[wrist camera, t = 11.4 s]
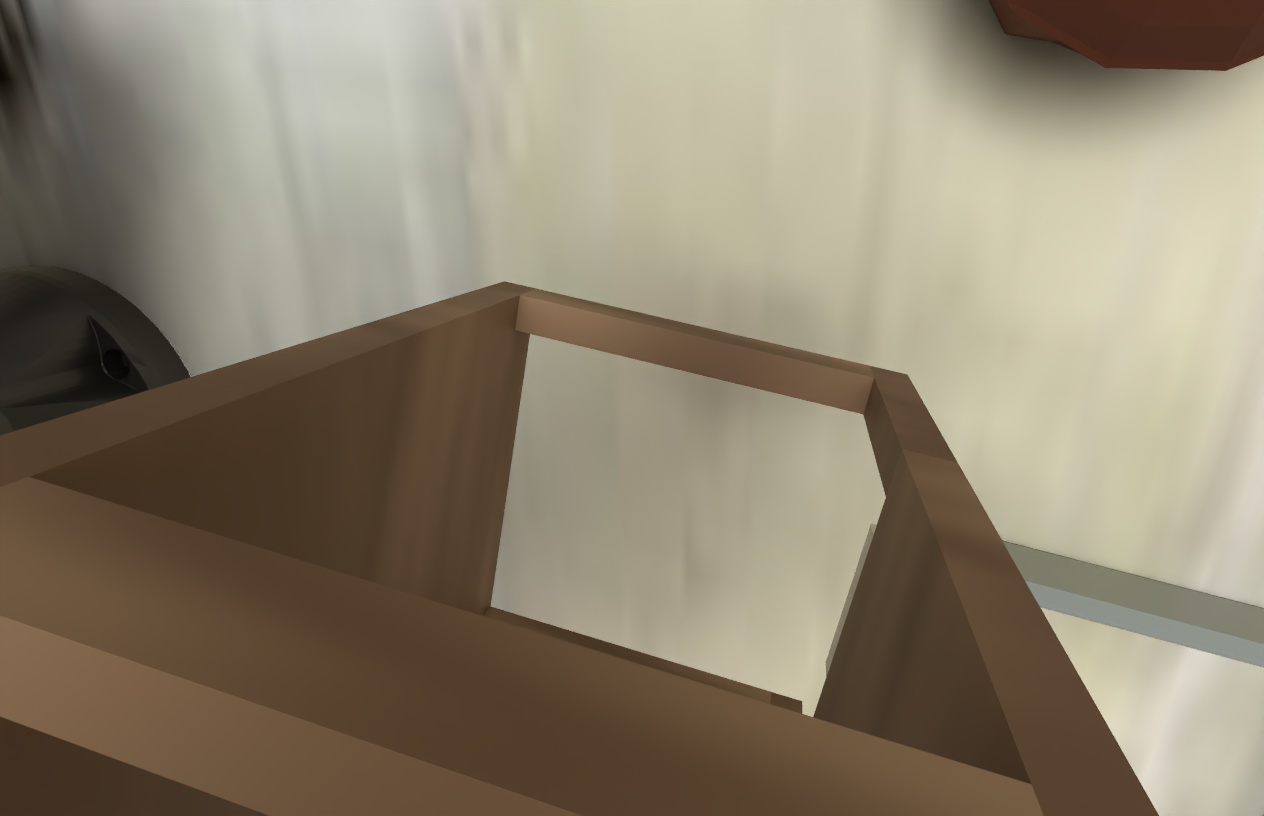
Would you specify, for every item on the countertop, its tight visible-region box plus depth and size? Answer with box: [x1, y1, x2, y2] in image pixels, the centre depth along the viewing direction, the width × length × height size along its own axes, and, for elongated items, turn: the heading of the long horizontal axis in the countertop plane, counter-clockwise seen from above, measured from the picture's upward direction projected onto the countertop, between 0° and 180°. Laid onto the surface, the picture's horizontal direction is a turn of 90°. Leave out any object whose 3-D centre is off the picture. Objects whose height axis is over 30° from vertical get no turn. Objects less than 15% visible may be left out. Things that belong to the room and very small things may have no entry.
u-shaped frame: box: [1003, 541, 1264, 667], centre depth 28 cm, size 16×14×3 cm
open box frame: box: [0, 282, 1159, 816], centre depth 9 cm, size 7×7×10 cm
